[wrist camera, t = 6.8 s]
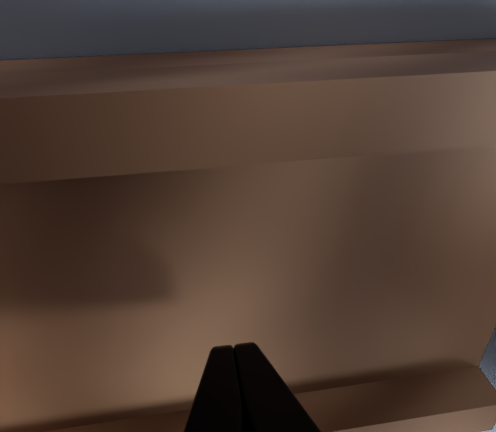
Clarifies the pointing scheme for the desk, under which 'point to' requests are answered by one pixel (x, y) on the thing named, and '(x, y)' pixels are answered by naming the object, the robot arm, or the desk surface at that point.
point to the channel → (249, 233)
